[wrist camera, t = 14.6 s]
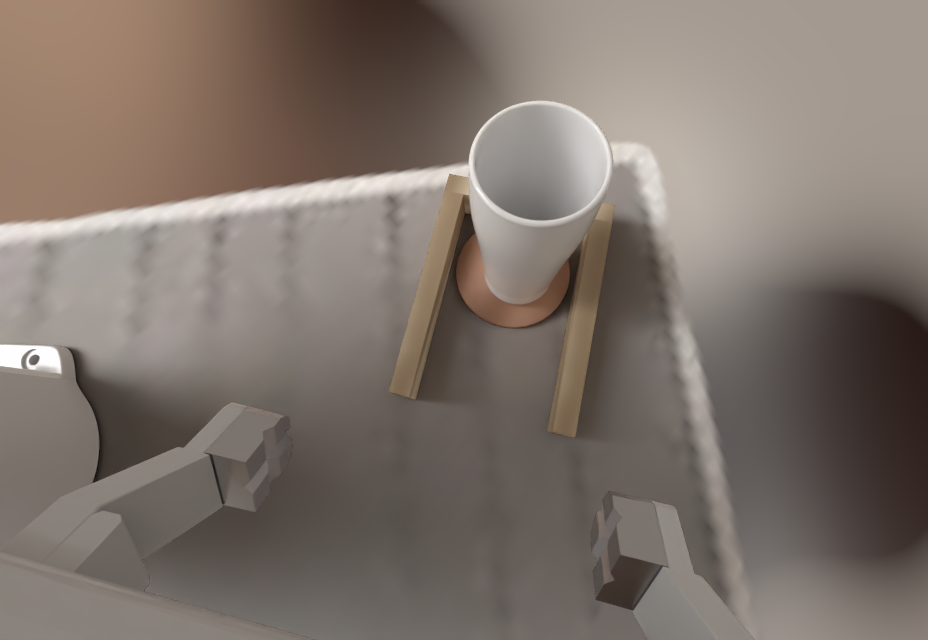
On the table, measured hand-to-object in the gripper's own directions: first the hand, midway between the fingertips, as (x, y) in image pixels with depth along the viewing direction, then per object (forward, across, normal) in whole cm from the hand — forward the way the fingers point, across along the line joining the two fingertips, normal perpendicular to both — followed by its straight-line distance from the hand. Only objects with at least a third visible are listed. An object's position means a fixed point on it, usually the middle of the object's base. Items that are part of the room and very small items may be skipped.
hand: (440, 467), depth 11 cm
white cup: (+24, -1, +5) cm, 25 cm away
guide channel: (+23, -1, +8) cm, 24 cm away
